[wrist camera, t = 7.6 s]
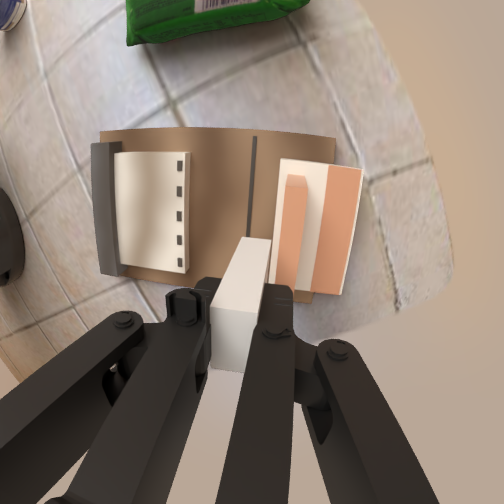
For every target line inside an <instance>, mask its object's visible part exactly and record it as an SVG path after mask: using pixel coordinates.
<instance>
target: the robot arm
mask: <svg viewBox="0 0 504 504" xmlns="http://www.w3.org/2000/svg"><path fill="white" fill-rule="evenodd" d="M270 249H271V240H268V239H259V238H249V237H242V238H241V240H240V242H239V244H238V246H237V248H236V251H235V253H234V255H233V257H232V259H231V261H230V264H229V266H228V268H227V270H226V272H225V274H224V277H223V279H222V278H214V277H207V276H206V277H204V278H202V279H201V280H199V281H198V282H197V284H196V285H195V287H194V289H190V288H181V289H176V290H173V291H171V292H169V293H168V294H167V295H165V297H166V308H167V318H166V320H165V321H164V322H161V323H143V319H142V317H141V315H139V314H138V313H136V312H133V311H120V312H116V313H114V314H112V315H110V316H109V317H107V318H106V319H105V320H103V321H102V322H100V323H99V324H98V325H96V326H95V327H94V328H92V329H91V330H90V331H88V332H87V333H86V334H84V335H83V336H82V337H80V338H79V339H78V340H76V341H75V342H74V343H72V344H71V345H70V346H68V347H67V348H66V349H64V350H63V351H62V352H60V353H59V354H58V355H56V356H55V357H54V358H52V359H51V360H50V361H49V362H47V363H46V364H45V365H43V366H42V367H41V368H39V369H38V370H37V371H36V372H34V373H33V374H32V375H30V376H29V377H28V378H27V379H25V380H24V381H23V382H22V383H20V384H19V385H18V386H17V387H15V388H14V389H13V390H12V391H10V392H9V393H8V394H7V395H5V396H4V397H3V398H2V399H1V400H0V504H36V503H37V502H38V501H39V500H40V499H41V498H42V497H43V496H44V495H45V494H46V493H47V492H48V491H49V490H50V489H51V488H52V487H53V486H54V485H55V484H56V483H57V482H58V481H59V480H60V479H61V478H62V477H63V476H64V475H65V473H66V472H67V471H68V470H69V469H70V468H71V467H72V466H73V465H74V464H75V463H76V462H77V461H78V460H79V459H80V458H81V457H82V456H83V455H84V454H85V452H86V451H87V450H88V449H89V448H90V449H89V450H88V452H87V454H86V456H85V458H84V460H83V461H82V463H81V465H80V467H79V469H78V471H77V473H76V475H75V477H74V478H73V480H72V482H71V484H70V486H69V488H68V490H67V491H66V493H65V494H64V495H63V496H61V497H56V498H51V499H49V500H48V501H47V502H45V503H44V504H166V502H167V498H168V495H169V492H170V489H171V486H172V483H173V480H174V477H175V474H176V471H177V468H178V465H179V462H180V459H181V456H182V453H183V450H184V447H185V444H186V441H187V438H188V435H189V432H190V429H191V426H192V423H193V420H194V417H195V414H196V411H197V408H198V405H199V402H200V399H201V395H202V393H203V390H204V387H205V384H206V381H207V375H208V371H207V367H208V364H209V362H211V368H214V369H220V370H227V371H233V372H240V373H244V377H243V382H242V387H241V391H240V396H239V401H238V405H237V410H236V415H235V419H234V424H233V428H232V433H231V437H230V441H229V446H228V450H227V455H226V459H225V464H224V468H223V473H222V477H221V481H220V486H219V490H218V494H217V498H216V502H215V504H288V494H289V481H290V466H291V450H292V431H293V407H294V402H296V403H299V404H301V405H302V411H303V414H304V417H305V420H306V424H307V427H308V430H309V433H310V437H311V440H312V443H313V447H314V450H315V453H316V457H317V459H318V463H319V467H320V469H321V473H322V476H323V479H324V483H325V486H326V490H327V493H328V496H329V499H330V503H331V504H439V502H438V500H437V498H436V495H435V493H434V491H433V489H432V487H431V485H430V483H429V481H428V480H427V477H426V475H425V473H424V471H423V469H422V467H421V466H420V463H419V462H418V459H417V457H416V456H415V454H414V452H413V450H412V448H411V446H410V444H409V442H408V440H407V438H406V437H405V435H404V433H403V431H402V429H401V427H400V425H399V423H398V421H397V420H396V418H395V416H394V414H393V412H392V410H391V409H390V407H389V405H388V403H387V401H386V400H385V398H384V396H383V394H382V392H381V391H380V389H379V387H378V385H377V384H376V382H375V380H374V379H373V377H372V375H371V373H370V371H369V370H368V368H367V366H366V364H365V363H364V361H363V359H362V357H361V356H360V354H359V352H358V351H357V349H356V348H355V347H354V346H353V345H352V344H350V343H348V342H346V341H343V340H340V339H329V340H324V341H323V342H321V343H320V344H319V345H318V346H314V345H311V344H308V343H306V342H304V341H302V340H301V339H299V338H298V337H297V336H296V335H295V333H294V330H293V291H292V290H291V289H290V287H289V286H288V285H279V284H270V283H267V278H268V268H269V258H270ZM23 266H24V245H23V238H22V233H21V229H20V225H19V222H18V218H17V216H16V213H15V210H14V208H13V206H12V204H11V202H10V200H9V198H8V196H7V195H6V193H5V192H4V191H3V190H2V189H1V188H0V287H4V286H7V285H9V284H10V283H12V282H13V281H15V280H16V279H18V278H19V276H20V275H21V273H22V270H23ZM114 364H116V366H115V367H114V368H113V369H111V370H110V368H111V367H112V366H113V365H114Z"/></svg>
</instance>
